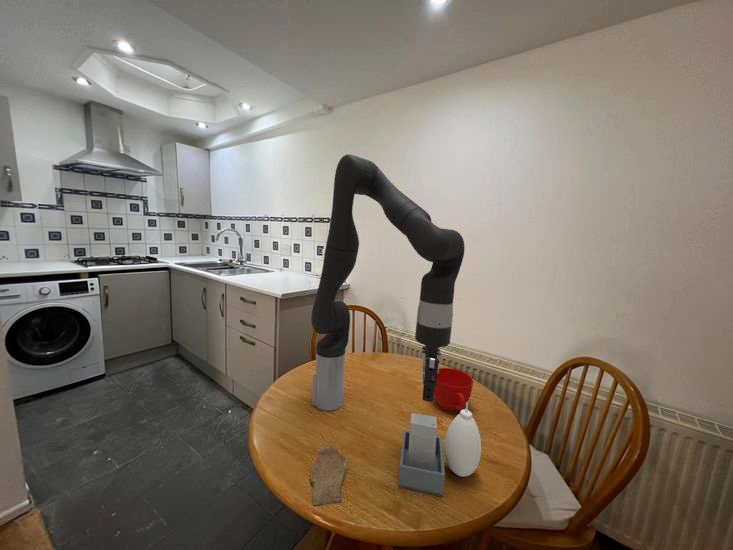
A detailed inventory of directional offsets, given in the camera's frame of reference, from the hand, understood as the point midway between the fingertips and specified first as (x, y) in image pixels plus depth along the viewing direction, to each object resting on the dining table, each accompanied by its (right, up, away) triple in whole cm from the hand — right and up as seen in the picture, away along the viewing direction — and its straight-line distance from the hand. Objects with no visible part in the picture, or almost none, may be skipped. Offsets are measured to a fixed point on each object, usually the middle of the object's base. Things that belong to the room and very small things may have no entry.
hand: (427, 389), depth 64 cm
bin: (-1, -20, +3) cm, 20 cm away
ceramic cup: (+14, -18, +28) cm, 36 cm away
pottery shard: (-22, -20, 0) cm, 30 cm away
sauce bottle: (+8, -21, +3) cm, 22 cm away
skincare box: (-1, -20, +3) cm, 20 cm away
